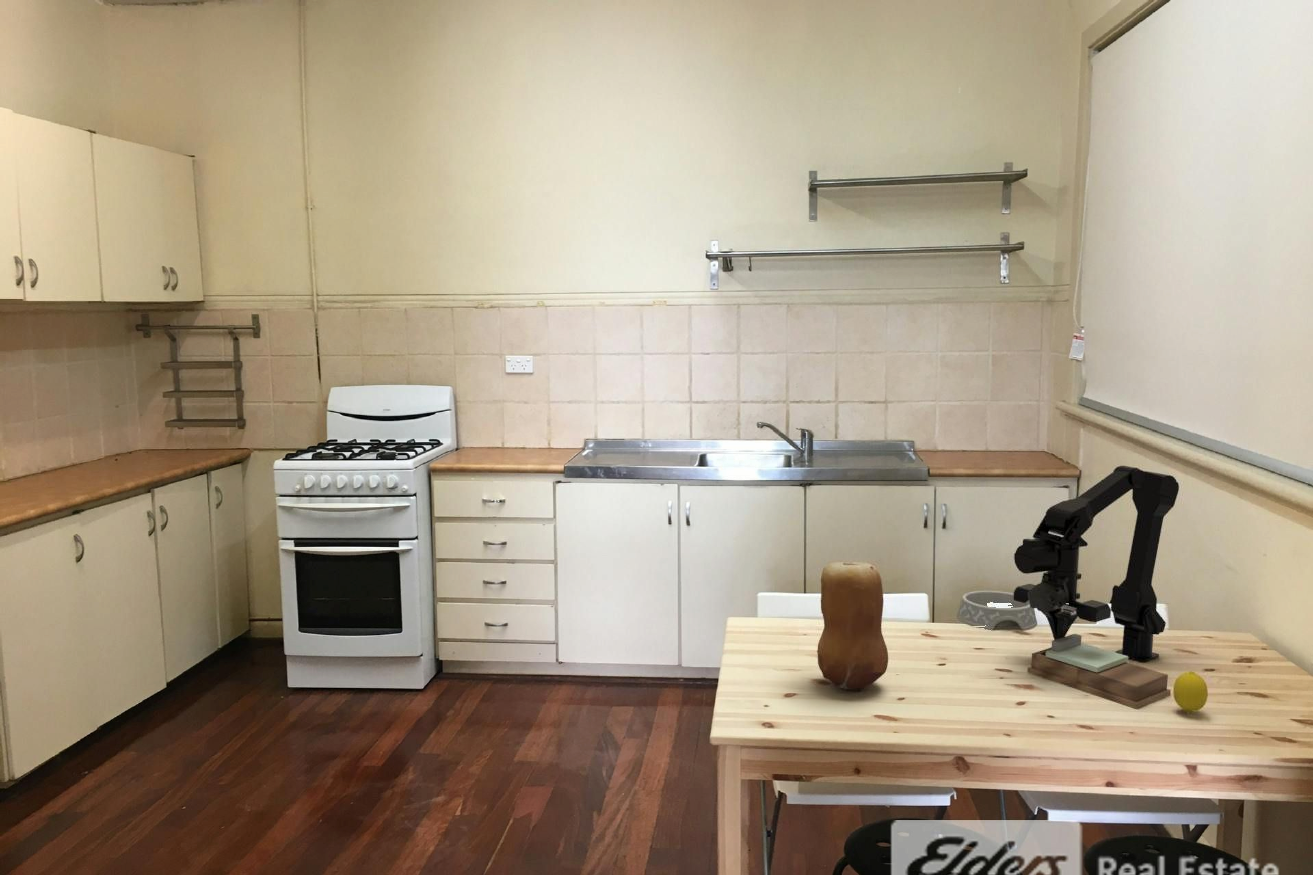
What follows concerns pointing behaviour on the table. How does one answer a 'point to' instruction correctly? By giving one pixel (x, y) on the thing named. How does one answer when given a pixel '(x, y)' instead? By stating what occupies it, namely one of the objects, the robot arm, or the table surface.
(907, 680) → the table surface
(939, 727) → the table surface
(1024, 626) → the dog bowl
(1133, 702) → the wooden box
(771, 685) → the table surface
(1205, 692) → the lemon
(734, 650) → the table surface
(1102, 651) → the slide cover
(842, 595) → the butternut squash
